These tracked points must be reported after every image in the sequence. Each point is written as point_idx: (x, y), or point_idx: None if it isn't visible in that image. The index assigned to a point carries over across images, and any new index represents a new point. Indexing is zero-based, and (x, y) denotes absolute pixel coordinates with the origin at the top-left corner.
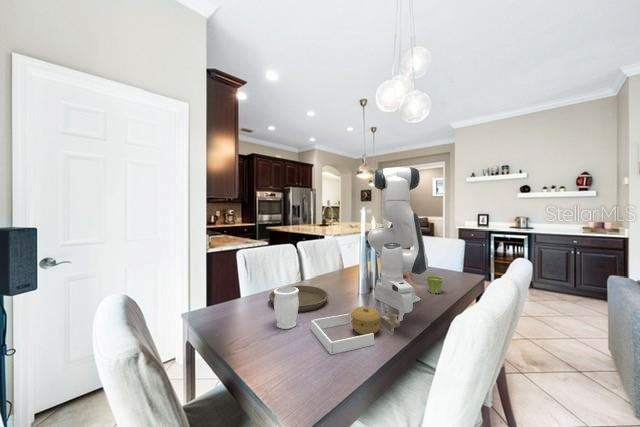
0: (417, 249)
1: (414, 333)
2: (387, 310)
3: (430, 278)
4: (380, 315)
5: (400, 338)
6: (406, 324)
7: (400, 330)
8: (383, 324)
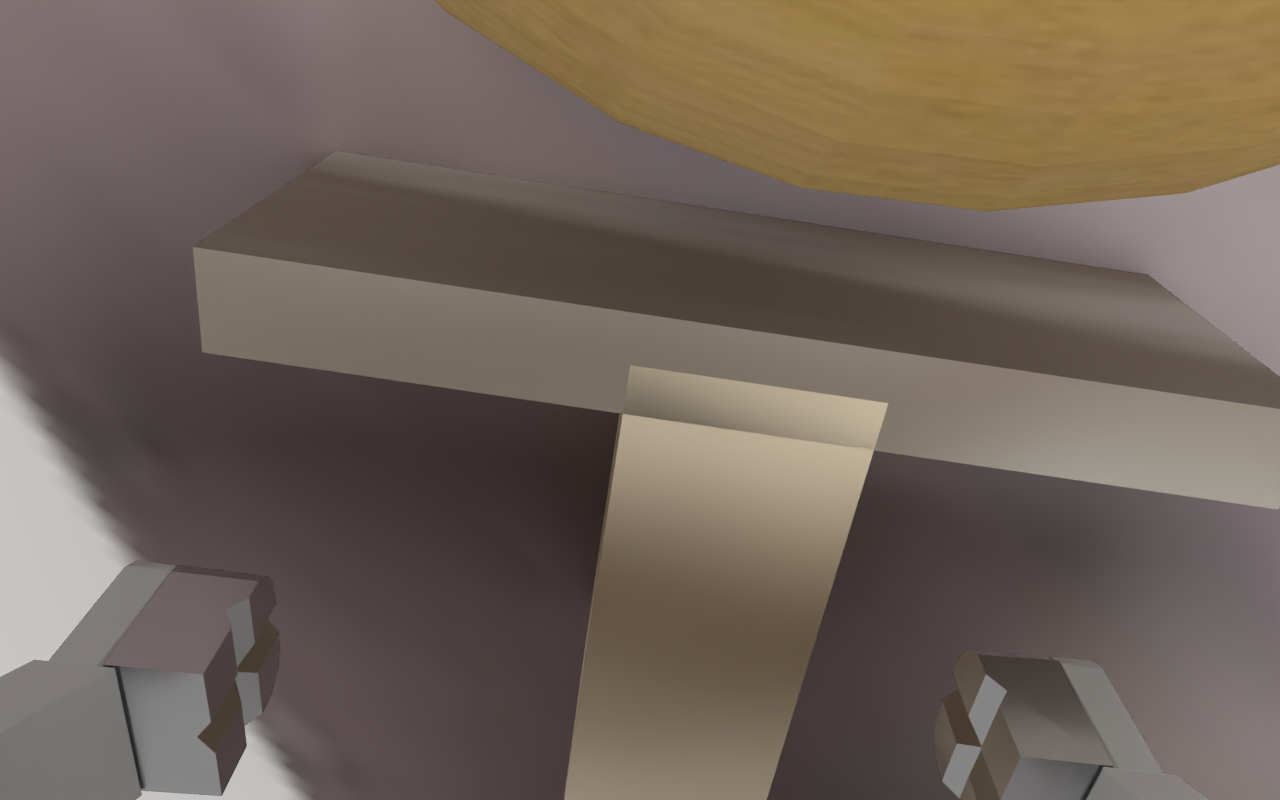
0: None
1: None
2: (958, 789)
3: None
4: (442, 2)
5: (104, 216)
6: None
7: (443, 498)
8: (695, 248)
